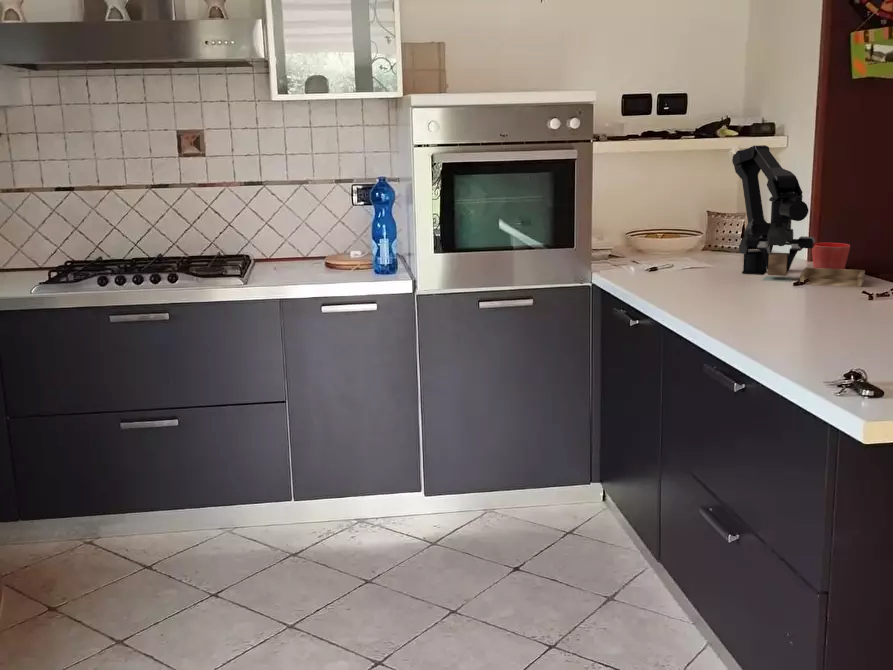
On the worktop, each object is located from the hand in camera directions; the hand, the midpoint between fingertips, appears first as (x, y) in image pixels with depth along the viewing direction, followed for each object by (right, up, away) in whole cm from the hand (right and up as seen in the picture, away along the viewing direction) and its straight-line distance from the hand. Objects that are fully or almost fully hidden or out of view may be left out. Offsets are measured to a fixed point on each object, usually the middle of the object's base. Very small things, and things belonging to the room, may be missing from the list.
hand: (778, 270), depth 267 cm
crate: (+13, -4, -7) cm, 15 cm away
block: (0, -1, 0) cm, 1 cm away
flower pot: (+17, -1, +6) cm, 18 cm away
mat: (0, -3, +1) cm, 3 cm away
